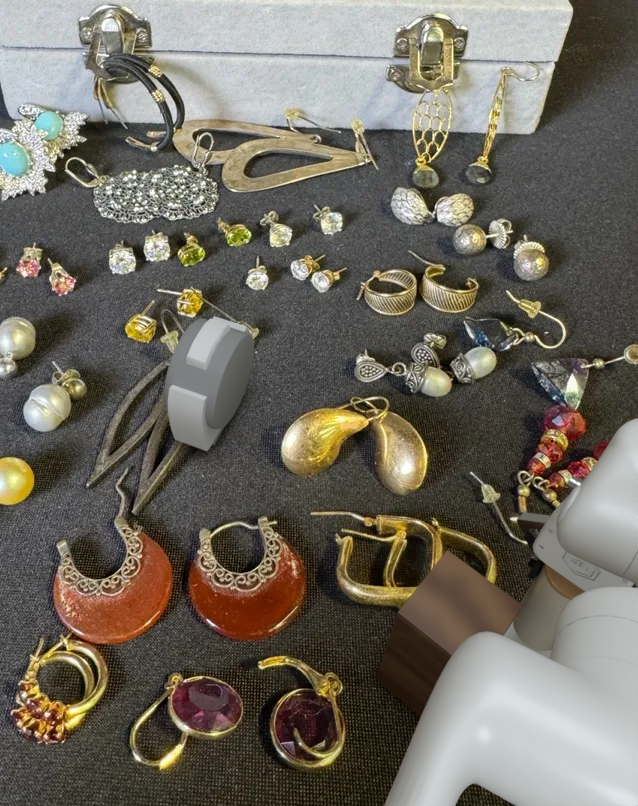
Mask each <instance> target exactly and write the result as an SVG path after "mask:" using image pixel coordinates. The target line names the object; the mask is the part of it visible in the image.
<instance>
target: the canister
mask: <svg viewBox="0 0 638 806" xmlns="http://www.w3.org/2000/svg"><path fill="white" fill-rule="evenodd" d="M584 592H585V591H584V590H582V589H581V588H579V587H578V586H576V585H575V584H574V583H572V582H571V581H569V580H568V579H566V578H565V577H564V576H562V575H561V574H559V573H558V572H556V571H555V570H554V569H552V568H551V567H549V566H548V565H547V564H545V563H544V564H543V565H542V567H541V569H540V570H539V572H538V574H537V575H536V576H535V578H534V579H532V582H531V584H530V585H529V586H528V588H527V590H526V592H525V593H524V595H523V597H522V598H521V600H520V602H519V603H521V604H522V605H523V606H522V608H521V609H520V611H519V612H518V614H517V616H516V617H515V619H514V621H513V626H514V629H515V632H516V634H517V635H518V637H519V638H520V639H521V640H522V641H523V642H524V643H525V644H526V645H528V646H529V647H531V648H533V649H536V650H539V651H549V650H552V644H553V639H554V633H555V628H556V624H557V620H558V617H559V615H560V613H561V611H562V610H563V608H564V607H565V606H566V605H567V604H568V603H569V602H570V601H571V600H572V599H573V598H575V597H576V596H578V595H580V594H582V593H584Z"/></svg>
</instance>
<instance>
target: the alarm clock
mask: <svg viewBox="0 0 638 806" xmlns="http://www.w3.org/2000/svg"><path fill="white" fill-rule="evenodd" d="M254 358H255V339H254V337H253V335H252V334H251V333H250V330H249V328H248V326H246V325H243V324H240V323H237V322H234V321H231V320H227V319H225V318H222V317H218V316H215V315H213V317H212V318H209V319H206V318H203V317H202V318H199V319H196V320H193V321H192V322H191V324H189V325H188V326H187V328H186V329H185V330H184V332H183V333H182V334H181V337H180V339H179V340H178V342H177V344H176V346H175V348H174V351H173V353H172V354H171V358H170V362H169V364H168V367H167V371H166V375H165V380H164V385H163V386H164V387H163V403H164V406H165V409H166V411H167V415H168V421H169V426H170V430H171V433H172V436H173V438H174V440H175V441H177V442H181V443H183V444H185V445H189V446H192V447H194V448H197V449H200V450H203V451H205V452H208V451H209V450H210V448H211V447H212V446H215V445H216V443H217V441H218V440H219V438H220V436H221V435H222V432H223V431H224V428H225V427H226V426H227V425H228V423H230V421H231V420H232V419H233V418H234V415H235V414H236V412H237V410H238V408H239V406H240V404H241V402H242V400H243V398H244V395H245V392H246V390H247V387H248V384H249V382H250V377H251V374H252V371H253V365H254Z"/></svg>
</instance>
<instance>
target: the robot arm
mask: <svg viewBox="0 0 638 806" xmlns="http://www.w3.org/2000/svg"><path fill="white" fill-rule="evenodd" d="M565 487H566V488H568V489H569V490H571V492H570V493H569V494H568V495H567V496H566V497H565V498H564V499H563V500H562V501H561V502H560V503H559V504H558V506H557V507H556V508H555V510H553V512H552V513H551V514H550V515H549V514H544V513H536V512H535V513H534V512H526V511H522V513H520V515H519V516H518V517H517V519H516V523H517V524H518V527H519V528H520V530H521V532H522V533H523V534H524V535H523V539H524V540H525V542H526V544H527V545H528V547H529V549H530V553H529V556H530V559H529V560H528V562H527V566H528V567H530V568H531V569H530V571H529V572H528V574H527V578H528V579H529V580H534V578H535V577H536V575H537V574H538V572H539V570H540V569H541V567H542V565H543V564H544V563H545V564H547V565H548V566H549V567H551V568H552V569H554V570H555V571H556V572H558V573H559V574H561V575H562V576H564V577H565V578H566V579H568V580H569V581H571V582H572V583H574V584H575V585H576V586H578V587H579V588H581V589H582V590H584V591H585V592H584V593H582V594H580V595H578V596H576V597H575V598H573V599H572V600H571V601H570V602H569V603H568V604H567V605H566V606H565V607H564V608H563V610H562V611H561V613H560V615H559V617H558V620H557V624H556V628H555V633H554V639H553V644H552V650H551V655H550V659H549V658H547V657H545V656H543V655H541V654H539V653H537V652H535V651H533V650H531V649H529V648H527V647H525V646H523V645H521V644H519V643H517V642H515V641H513V640H511V639H509V638H507V637H505V636H502V635H500V634H497V633H494V632H488V631H486V632H479V633H477V634H475V635H473V636H471V637H469V638H468V639H467V640H465V641H464V642H463V643H462V644H461V645H460V646H459V647H458V648H457V650H456V651H455V652H454V654H453V655H452V657H451V658H450V659H449V661H448V663H447V664H446V666H445V668H444V669H443V671H442V673H441V675H440V677H439V679H438V681H437V683H436V685H435V687H434V689H433V691H432V693H431V695H430V698H429V700H428V702H427V704H426V706H425V708H424V711H423V713H422V715H421V717H420V718H419V720H418V722H417V725H416V728H415V730H414V732H413V734H412V737H411V740H410V741H409V745H408V747H407V749H406V751H405V753H404V756H403V759H402V761H401V764H400V766H399V769H398V771H397V774H396V776H395V778H394V781H393V783H392V786H391V788H390V791H389V792H388V795H387V798H386V800H385V803H384V805H383V806H457V803H458V801H459V799H460V797H461V795H462V794H463V792H464V791H465V790H466V789H467V788H468V787H469V786H471V785H473V784H475V785H478V786H480V787H482V788H483V789H485V790H487V791H488V792H490V793H493V794H494V795H496V796H498V797H499V798H501V799H503V800H504V801H507V802H508V803H510V804H512V805H513V806H638V417H637V418H633V419H631V420H628V421H626V422H625V423H623V424H622V425H621V426H620V427H618V429H617V430H616V431H615V433H614V434H613V436H612V437H611V439H610V441H609V442H608V444H607V446H606V447H605V449H604V450H603V452H602V454H601V455H600V456H599V458H598V460H597V461H596V462H595V464H594V465H593V466H592V468H591V469H590V471H589V472H588V474H587V475H586V477H585V478H584V479H582V478H578V477H577V476H575V475H571V477H570V478H569V479H568V480H567V483H566V485H565Z"/></svg>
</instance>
